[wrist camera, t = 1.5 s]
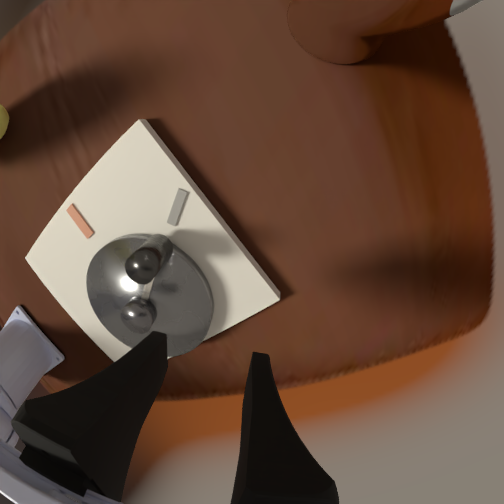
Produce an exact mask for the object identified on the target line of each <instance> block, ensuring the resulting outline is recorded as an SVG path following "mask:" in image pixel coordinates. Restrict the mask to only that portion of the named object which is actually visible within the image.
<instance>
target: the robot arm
mask: <svg viewBox="0 0 504 504" xmlns="http://www.w3.org/2000/svg"><path fill="white" fill-rule="evenodd" d="M64 359H65V358H64V356H63V354H62V353H61V352H60V351H59V350H58V349H57V348H56V347H55V346H54V345H53V344H52V343H51V341H50V340H49V339H48V338H47V337H46V336H45V335H44V333H43V332H42V331H41V330H40V329H39V328H38V326H37V325H36V324H35V323H34V322H33V321H32V319H31V318H30V317H29V316H28V314H27V313H26V312H25V311H24V309H23V308H22V307H21V306H20V305H18V306H17V307H16V308H15V310H14V312H13V313H12V315H11V316H10V318H9V319H8V321H7V323H6V324H5V326H4V327H3V329H2V330H1V331H0V493H2V494H3V495H4V496H5V497H7V498H8V499H9V500H11V501H12V502H14V503H15V504H79V503H78V502H80V503H82V504H122V503H120V502H121V498H122V493H123V489H124V484H125V479H126V476H127V472H128V469H129V465H130V461H131V458H132V455H133V451H134V448H135V444H136V442H137V438H138V436H139V433H140V430H141V428H142V425H143V423H144V421H145V419H146V417H147V415H148V413H149V410H150V408H151V406H152V404H153V402H154V400H155V398H156V396H157V394H158V392H159V390H160V388H161V386H162V383H163V380H164V377H165V374H166V371H167V368H168V356H167V334H165V333H161V332H157V331H152V332H151V333H150V334H149V335H148V336H146V337H145V338H144V339H143V340H142V341H141V342H139V343H138V344H137V345H136V346H135V347H133V348H132V349H131V350H130V351H128V352H127V353H126V354H125V355H123V356H122V357H121V358H120V359H118V360H117V361H115V362H114V363H112V364H111V365H110V366H108V367H107V368H105V369H104V370H102V371H101V372H99V373H97V374H96V375H94V376H92V377H90V378H89V379H87V380H85V381H83V382H81V383H79V384H76V385H74V386H72V387H70V388H67V389H65V390H62V391H59V392H56V393H53V394H50V395H47V396H43V397H39V398H34V399H30V400H26V401H25V402H24V403H23V401H24V400H25V399H26V397H27V396H28V395H29V393H30V392H31V391H32V389H33V388H34V387H35V385H36V384H37V383H38V381H39V380H40V379H41V377H42V376H43V375H44V374H45V373H47V372H48V371H50V370H51V369H52V368H54V367H55V366H56V365H58V364H59V363H61V362H62V361H63V360H64ZM22 403H23V404H22ZM21 404H22V406H21ZM20 406H21V407H20ZM19 407H20V408H19ZM18 409H19V410H18ZM17 410H18V411H17ZM19 437H20V439H21V440H22V441H23V442H24V444H25V445H26V447H25V448H24V450H23V452H22V453H21V452H20V451H18V450H17V449H15V448H14V447H15V445H16V443H17V441H18V439H19ZM67 496H68V497H67ZM73 499H74V500H75V501H74V500H73ZM76 501H77V502H76ZM231 504H339V497H338V492H337V488H336V485H335V481H334V480H333V479H332V478H331V477H330V476H329V475H328V474H327V473H326V472H325V471H324V470H323V468H322V467H321V466H320V465H319V464H318V463H317V461H316V460H315V459H314V458H313V456H312V455H311V454H310V452H309V451H308V449H307V448H306V446H305V445H304V444H303V442H302V441H301V439H300V438H299V436H298V434H297V432H296V431H295V429H294V427H293V426H292V423H291V422H290V419H289V418H288V415H287V413H286V411H285V409H284V407H283V404H282V401H281V399H280V396H279V393H278V390H277V387H276V384H275V381H274V378H273V374H272V369H271V364H270V357H269V355H268V354H264V353H257V352H253V354H252V359H251V363H250V368H249V373H248V377H247V382H246V387H245V393H244V399H243V408H242V425H241V442H240V454H239V460H238V466H237V472H236V477H235V483H234V489H233V494H232V499H231Z"/></svg>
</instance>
